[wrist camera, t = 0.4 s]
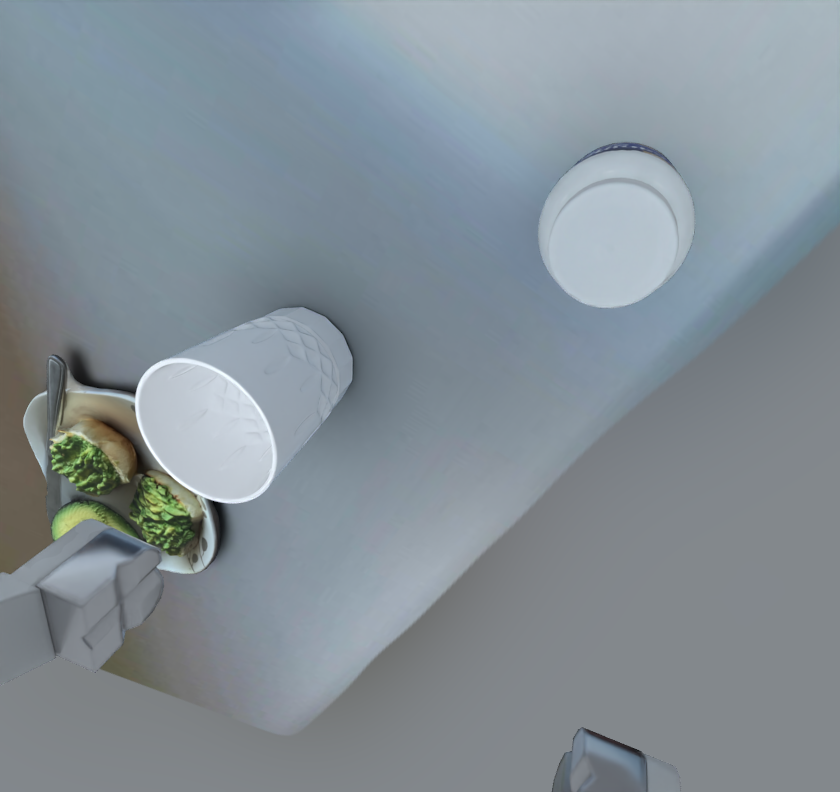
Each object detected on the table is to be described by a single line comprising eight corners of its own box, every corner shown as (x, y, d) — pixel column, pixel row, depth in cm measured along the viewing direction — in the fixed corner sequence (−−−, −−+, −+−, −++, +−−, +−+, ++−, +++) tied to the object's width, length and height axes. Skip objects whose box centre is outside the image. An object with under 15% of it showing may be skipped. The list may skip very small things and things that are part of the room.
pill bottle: (702, 155, 24) (737, 180, 16) (654, 275, 27) (664, 348, 19) (578, 128, 25) (552, 138, 17) (543, 246, 28) (507, 303, 20)
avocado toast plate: (-5, 343, 44) (-66, 365, 41) (181, 351, 39) (130, 379, 35) (79, 540, 53) (35, 574, 49) (243, 571, 47) (207, 613, 43)
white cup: (230, 315, 36) (106, 378, 28) (332, 280, 33) (226, 340, 24) (283, 423, 39) (184, 512, 30) (382, 401, 35) (303, 493, 27)
